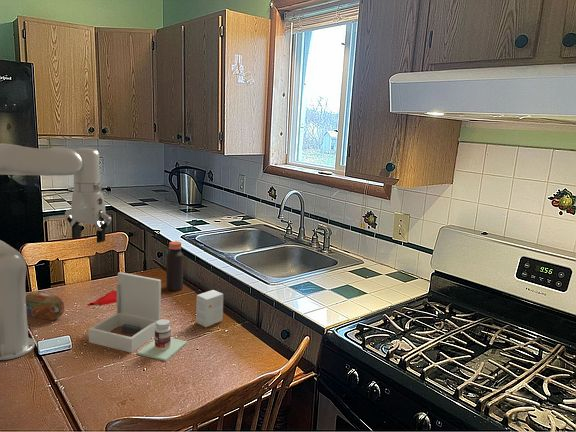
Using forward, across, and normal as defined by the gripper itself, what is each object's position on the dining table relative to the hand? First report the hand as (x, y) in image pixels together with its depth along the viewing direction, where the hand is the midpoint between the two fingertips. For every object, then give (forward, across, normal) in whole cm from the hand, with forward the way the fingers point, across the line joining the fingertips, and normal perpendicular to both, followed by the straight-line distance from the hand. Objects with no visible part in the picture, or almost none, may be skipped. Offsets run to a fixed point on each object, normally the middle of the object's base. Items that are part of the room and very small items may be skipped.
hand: (88, 239), depth 143 cm
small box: (+31, -34, -20) cm, 50 cm away
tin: (+31, +19, +1) cm, 36 cm away
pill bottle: (+30, -30, +3) cm, 42 cm away
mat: (+30, -30, +3) cm, 43 cm away
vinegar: (+31, -6, -42) cm, 52 cm away
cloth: (+31, +8, -25) cm, 41 cm away
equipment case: (+30, -15, +2) cm, 34 cm away
